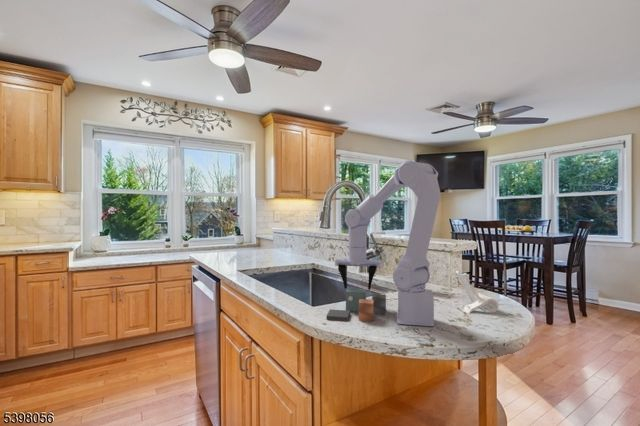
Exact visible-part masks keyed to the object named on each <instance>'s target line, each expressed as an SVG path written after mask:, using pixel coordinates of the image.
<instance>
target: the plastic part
mask: <svg viewBox="0 0 640 426" xmlns="http://www.w3.org/2000/svg"><path fill="white" fill-rule="evenodd" d="M455 274H456V276H457V278H458V280H459V282H460V283H461V285H462V287H463V289H464V290H465V293H466V294H467V296H468V298H469V301H470V302H471V303H470V304H466V305H464V307H463V309H462V312H464V313H467V314H471V313H472V312H473V311H474V310H477V309H478V308H479V309H481V310H483V311H485V312H487V313H489V314H491V313H496V312H498V309H499V302H498V301H497V300H496V299H494V298H492V297H489V296H487V295H485V294H482V293H480V292H477V290H476V289H475V287H474V285H473V284H471V283H470V282H471V280H470V278H469V276H468V273H466V272H464V273H460V270H456V271H455Z"/></svg>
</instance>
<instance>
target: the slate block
mask: <svg viewBox="0 0 640 426" xmlns="http://www.w3.org/2000/svg"><path fill="white" fill-rule="evenodd" d="M386 295H387V294H383V293H372V295H371V296H372V297H371V300H374V315H381V316H383V315H385V316H386V315H387V296H386Z"/></svg>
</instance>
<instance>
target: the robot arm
mask: <svg viewBox="0 0 640 426" xmlns="http://www.w3.org/2000/svg"><path fill="white" fill-rule="evenodd" d="M438 177H439V172H438V171H437V170H436V168H435V167H434V166H433V165H431V164H430V163H426V162H425V163H423V162H417V161H414V160H408V159H407V160H405V161H403V162H402V163H401V164H400V165H399V166H398V167H397V168H395V170H394V173H393V175H392V176H391V177H390V178H389V179H388V180H387V181H386V182H385V183H384V185H383V186H382V187H381V188H380V189H379V190H378V191H377V192H376V193H375V194H373V193H372V194H369V195H365V197H364V200H363V201H361V202H360V204H358V205H356V207H355V208H354V209H351V208H350V209H348V210H347V212H346V213H345V216H344V221H345V224H346V226H347V227H348V258H338V259H337V258H336V259H335V260H334V265H335V267H337V269H338V272H339V274H340V276H341V279H342V282H343V288H344V290H345V289H346V290H347V288H348V275H347V274H348V267H368V285H367V290H368V291H370V290H371V289H372V287H371V286H372V282H373V279H374V278H375V277H374V276H375V275H376V271H377V269H378V268H381V260H378V259H377V260H375V259H367V232H368V226H369V225H370V223H371V219H372V218H374V217H375V216H376V215H377V214H378V213H379V212H380V211H381V210H382V209H383V208H384V203H385V202H386V201H387V200H389V199H390V198H391V197H392V196H393V195H395V194H396V193H397V192H398V191H400V190H401V189H402V188H406V187H407V188H409V189H410V190H411V191H412V192H413V193H414V195H415V196H416V197H417V201H416V206H415V211H414V215H413V218H412V224H411V229H410V233H409V237H408V241H407V246H406V250H405V254H404V255H402V257H401V258H400V259H399V261H398V264H397V267H395V269H394V270H393V274H392V280H393V282H394V284H395V286H396V288H397V292H398V293H397V295H398V297H397V299H398V300H397V303H398V304H397V309H398V310H397V312H396V314H395V315H396V324H398V325H406V326H408V325H410V326H423V327H434V326H435V322H434V321H435V311H434V310H435V308H434V307H435V301H434V300H435V299H434V292H433V289H426V287H427V286H426V284H427V283H429V281H430V276H431V274H430V264H431V263H430V261H429V260H428V258H427V254H428V250H429V245H430V242H431V237H432V232H433V229H434V224H435V221H436V216H437V214H438V213H437V212H438V209H439V203H440V201H441V200H440V199H441V196H442V195H441V194H442V193H441V189H440V185H439V180H438Z"/></svg>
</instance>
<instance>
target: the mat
mask: <svg viewBox="0 0 640 426" xmlns="http://www.w3.org/2000/svg"><path fill="white" fill-rule="evenodd" d="M350 315H351V311H348V310H346V309H345V310H343V309H331V308H330V309H329V310H328V312H327V313H326V320H331V321H342V322H343V321H344V322H345V321H346V322H348V321H349V317H350Z"/></svg>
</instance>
